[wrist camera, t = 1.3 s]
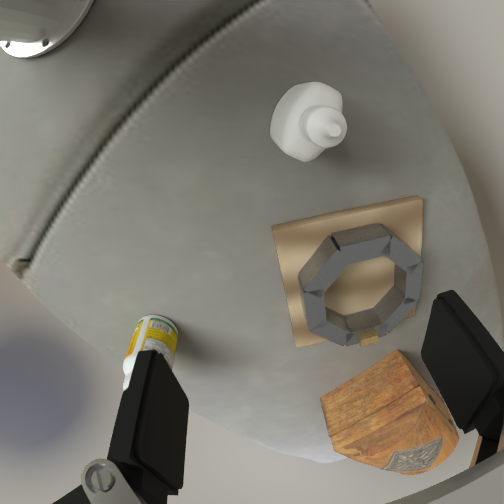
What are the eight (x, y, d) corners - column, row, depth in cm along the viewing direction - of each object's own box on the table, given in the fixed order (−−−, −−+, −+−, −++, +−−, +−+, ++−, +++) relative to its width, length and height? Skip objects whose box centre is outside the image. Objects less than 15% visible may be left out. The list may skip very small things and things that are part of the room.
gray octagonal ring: (291, 241, 30) (298, 263, 26) (411, 215, 29) (430, 231, 25) (307, 336, 36) (313, 361, 32) (405, 310, 35) (419, 330, 32)
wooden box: (312, 399, 45) (328, 474, 33) (402, 343, 40) (439, 418, 28) (381, 438, 56) (397, 487, 44) (443, 401, 52) (466, 449, 40)
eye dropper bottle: (331, 117, 25) (394, 137, 15) (281, 152, 27) (314, 192, 16) (304, 78, 23) (353, 68, 13) (252, 114, 25) (265, 126, 14)
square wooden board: (271, 226, 30) (272, 231, 29) (417, 195, 29) (422, 199, 28) (295, 341, 38) (296, 347, 37) (410, 309, 37) (414, 315, 36)
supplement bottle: (169, 310, 34) (154, 374, 26) (184, 342, 37) (176, 405, 28) (129, 317, 35) (107, 377, 26) (147, 347, 37) (132, 407, 29)
